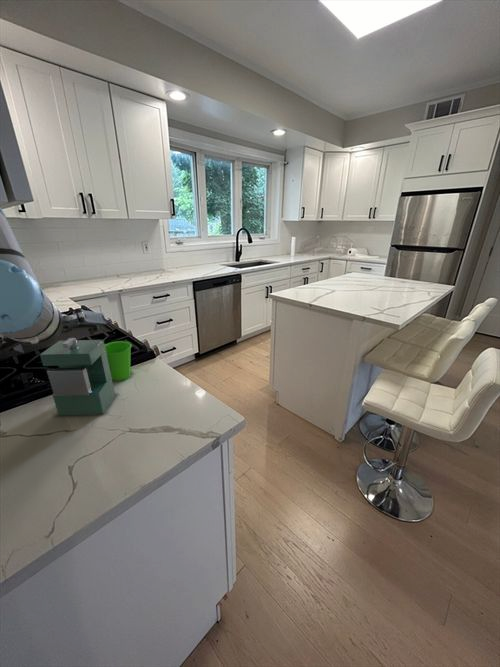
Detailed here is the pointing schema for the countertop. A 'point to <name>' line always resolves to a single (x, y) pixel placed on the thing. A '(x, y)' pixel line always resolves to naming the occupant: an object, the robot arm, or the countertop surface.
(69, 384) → the plate
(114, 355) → the cup
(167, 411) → the countertop surface
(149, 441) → the countertop surface
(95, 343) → the dispenser
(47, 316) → the robot arm
